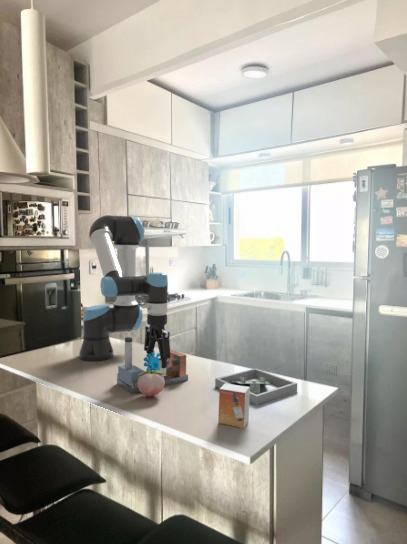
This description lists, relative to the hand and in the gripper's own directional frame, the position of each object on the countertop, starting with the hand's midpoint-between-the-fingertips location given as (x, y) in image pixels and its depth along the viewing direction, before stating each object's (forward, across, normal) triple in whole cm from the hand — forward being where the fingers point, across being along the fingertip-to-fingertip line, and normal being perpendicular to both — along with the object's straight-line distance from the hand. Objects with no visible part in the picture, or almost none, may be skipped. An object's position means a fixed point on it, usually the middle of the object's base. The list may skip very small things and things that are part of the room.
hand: (156, 372), depth 150 cm
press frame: (+3, 0, -2) cm, 4 cm away
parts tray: (+3, +28, +25) cm, 38 cm away
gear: (0, 0, 0) cm, 1 cm away
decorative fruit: (+3, +12, -10) cm, 16 cm away
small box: (+3, +43, 0) cm, 43 cm away
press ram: (+1, 0, -11) cm, 11 cm away
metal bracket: (+4, +26, +25) cm, 36 cm away
